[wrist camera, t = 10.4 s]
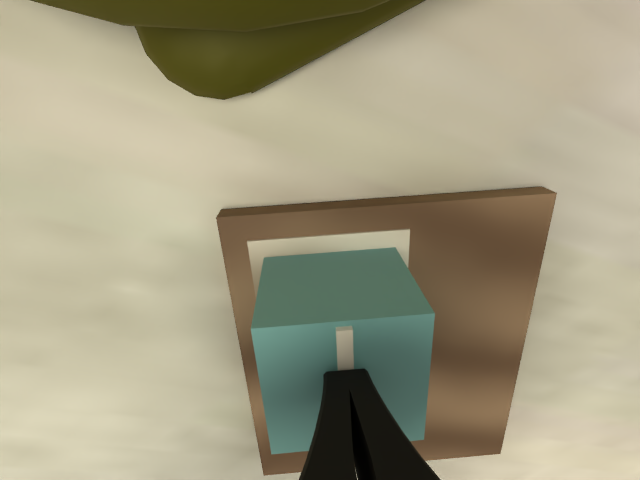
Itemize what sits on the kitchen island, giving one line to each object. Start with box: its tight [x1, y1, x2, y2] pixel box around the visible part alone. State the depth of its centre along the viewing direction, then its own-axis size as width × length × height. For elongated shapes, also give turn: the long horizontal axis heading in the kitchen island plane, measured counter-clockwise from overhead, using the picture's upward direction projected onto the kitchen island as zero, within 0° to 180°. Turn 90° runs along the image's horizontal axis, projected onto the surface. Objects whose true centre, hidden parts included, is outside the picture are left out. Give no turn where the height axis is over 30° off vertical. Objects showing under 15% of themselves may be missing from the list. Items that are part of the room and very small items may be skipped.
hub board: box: [216, 187, 557, 475], centre depth 17 cm, size 16×14×4 cm
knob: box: [251, 247, 435, 454], centre depth 14 cm, size 6×6×5 cm
